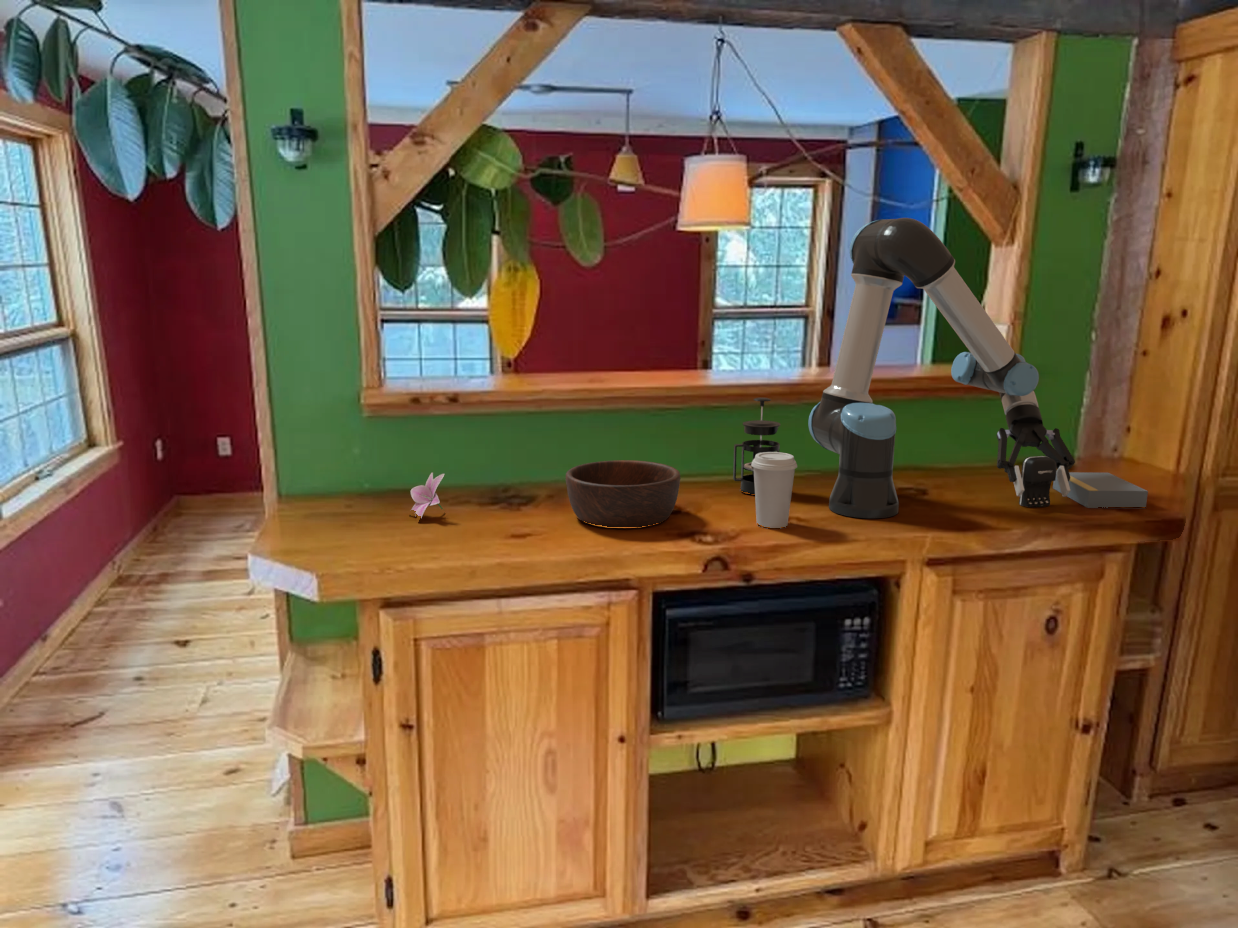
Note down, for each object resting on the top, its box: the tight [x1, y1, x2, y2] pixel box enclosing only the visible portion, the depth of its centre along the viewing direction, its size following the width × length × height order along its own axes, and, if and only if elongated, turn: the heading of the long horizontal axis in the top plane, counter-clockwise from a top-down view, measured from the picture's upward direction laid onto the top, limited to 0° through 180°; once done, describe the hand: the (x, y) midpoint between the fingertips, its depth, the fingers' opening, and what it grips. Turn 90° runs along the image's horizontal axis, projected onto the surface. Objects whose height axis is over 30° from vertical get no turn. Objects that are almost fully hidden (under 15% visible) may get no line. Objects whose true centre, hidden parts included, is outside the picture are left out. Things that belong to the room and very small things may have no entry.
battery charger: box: [1018, 455, 1057, 508], centre depth 203 cm, size 7×4×11 cm, turn 101°
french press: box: [732, 397, 781, 494], centre depth 216 cm, size 12×9×23 cm
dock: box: [1052, 471, 1149, 509], centre depth 211 cm, size 13×18×4 cm
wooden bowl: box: [565, 459, 681, 527], centre depth 196 cm, size 25×25×10 cm
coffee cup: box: [751, 451, 798, 529], centre depth 189 cm, size 10×10×15 cm
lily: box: [410, 472, 445, 519], centre depth 198 cm, size 12×12×10 cm
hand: (1043, 493), depth 200 cm, fingers open, 9 cm apart
